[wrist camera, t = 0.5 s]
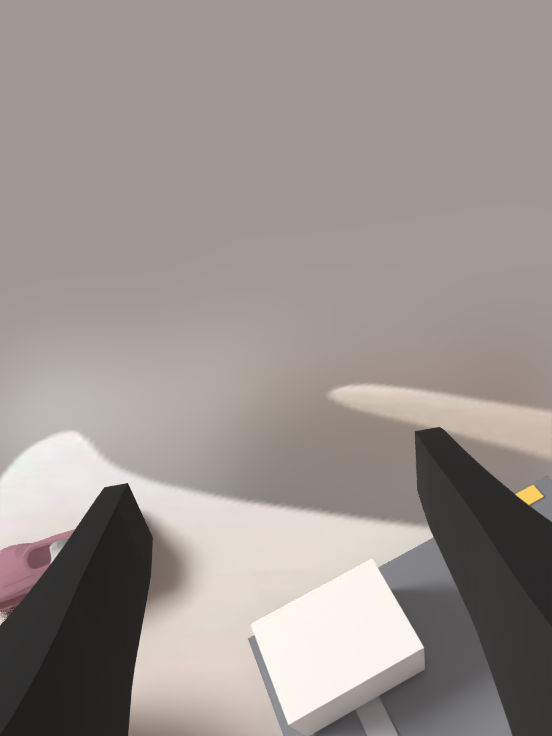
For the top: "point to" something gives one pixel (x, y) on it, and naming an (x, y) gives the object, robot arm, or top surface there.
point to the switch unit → (429, 655)
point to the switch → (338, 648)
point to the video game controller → (26, 567)
